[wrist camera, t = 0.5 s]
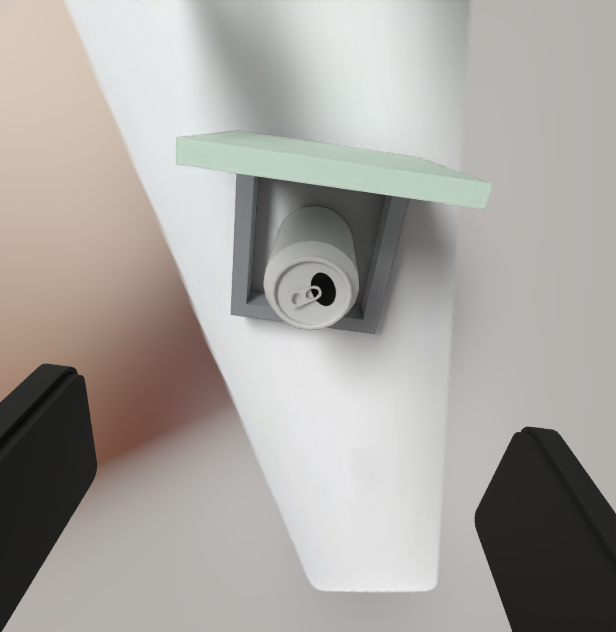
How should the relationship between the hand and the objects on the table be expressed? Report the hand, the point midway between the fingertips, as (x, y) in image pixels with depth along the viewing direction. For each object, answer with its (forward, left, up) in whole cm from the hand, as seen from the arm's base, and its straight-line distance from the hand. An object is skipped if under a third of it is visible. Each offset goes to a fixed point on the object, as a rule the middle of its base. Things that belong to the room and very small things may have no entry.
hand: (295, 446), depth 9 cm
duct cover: (-2, 0, -22) cm, 22 cm away
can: (+7, 0, -33) cm, 34 cm away
